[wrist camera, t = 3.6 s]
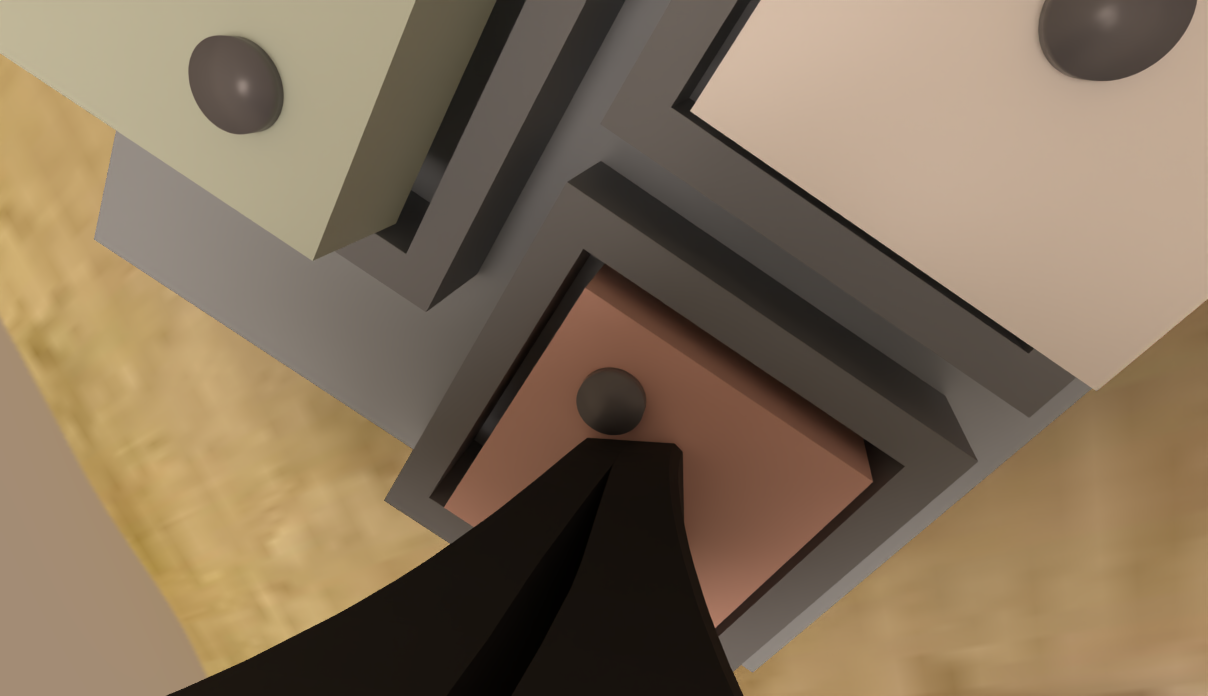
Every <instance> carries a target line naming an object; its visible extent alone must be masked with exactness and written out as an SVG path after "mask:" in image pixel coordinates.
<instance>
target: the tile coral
mask: <svg viewBox="0 0 1208 696" xmlns="http://www.w3.org/2000/svg"><path fill="white" fill-rule="evenodd" d="M586 438H600V439H615V440H630V441H645V442H660V443H675V444H676V445H677V446H678V447H679V448H680V449H681V450H682V451H683V488H684V525H685V529H686V534H687V539H688V543H689V548H690V551H691V555H692V559H693V563H694V566H695V570H696V573H697V576H698V579H699V583H700V586H701V589H702V592H703V595H704V598H705V601H706V604H707V607H708V610H709V613H710V616H711V618H712V621H713V624H714V627H715V628H716V627H717V626H718V625H719V624H720V623H721V622H722V621H723V620H724V619H725V618H727V617H728V616H729V615H730V614H731V613H732V612H733V611H734V610H735V609H736V608H737V607H738V606H739V605H741V604H742V603H743V602H744V601H745V600H746V599H747V598H748V597H749V596H750V595H751V594H752V593H754V592H755V591H756V590H757V589H758V588H759V587H760V586H761V585H762V584H763V583H764V582H765V581H766V580H768V579H769V578H770V577H771V576H772V575H773V574H774V573H775V572H776V571H777V570H778V569H779V568H781V567H782V566H783V565H784V564H785V563H786V562H787V561H788V560H789V559H790V558H791V557H792V556H793V555H795V554H796V553H797V552H798V551H799V550H800V549H801V548H802V547H803V546H804V545H805V544H806V543H808V542H809V541H810V540H811V539H812V538H813V537H814V536H815V535H816V534H817V533H818V532H819V531H820V530H822V529H823V528H824V527H825V526H826V525H827V524H828V523H829V522H830V521H831V520H832V519H833V518H835V517H836V516H837V515H838V514H839V513H840V512H841V511H842V510H843V509H844V508H845V507H846V506H848V505H849V504H850V503H851V502H852V501H853V500H854V499H855V498H856V497H857V496H858V495H859V494H860V493H862V492H863V491H864V490H865V489H866V488H867V487H868V486H869V485H870V484H871V483H872V482H873V479H872V475H871V470H870V466H869V462H868V457H867V453H866V449H865V444H864V440H863V438H862V437H861V436H859V435H858V434H856V433H855V432H853V431H852V430H851V429H849V428H848V427H846V426H845V425H843V424H842V423H840V422H839V421H837V420H836V419H834V418H833V417H831V416H830V415H828V414H827V413H825V412H824V411H822V410H821V409H820V408H818V407H817V406H815V405H814V404H812V403H811V402H809V401H808V400H806V399H805V398H803V397H802V396H800V395H799V394H797V393H796V392H794V391H793V390H791V389H790V388H788V387H787V386H786V385H784V384H783V383H781V382H780V381H778V380H777V379H775V378H774V377H772V376H771V375H769V374H768V373H766V372H765V371H763V370H762V369H760V368H759V367H757V366H756V365H754V364H753V363H752V362H750V361H749V360H747V359H746V358H744V357H743V356H741V355H740V354H738V353H737V352H735V351H734V350H732V349H731V348H729V347H728V346H726V345H725V344H723V343H722V342H720V341H719V340H718V339H716V338H715V337H713V336H712V335H710V334H709V333H707V332H706V331H704V330H703V329H701V328H700V327H698V326H697V325H695V324H694V323H692V322H691V321H689V320H688V319H686V318H685V317H684V316H682V315H681V314H679V313H678V312H676V311H675V310H673V309H672V308H670V307H669V306H667V305H666V304H664V303H663V302H661V301H660V300H658V299H657V298H655V297H654V296H652V295H651V294H650V293H648V292H647V291H645V290H644V289H642V288H641V287H639V286H638V285H636V284H635V283H633V282H632V281H630V280H629V279H627V278H626V277H624V276H623V275H621V274H620V273H618V272H617V271H616V270H614V269H613V268H611V267H610V266H608V265H607V264H604V265H603V266H602V268H601V269H600V270H599V271H598V273H597V274H596V275H595V276H594V278H593V279H592V280H591V281H590V282H589V284H588V285H587V286H586V287H585V289H584V290H583V292H582V294H581V295H580V297H579V298H578V300H577V301H576V303H575V304H574V306H573V308H572V309H571V311H570V312H569V314H568V315H567V317H566V318H565V320H564V322H563V323H562V325H561V326H560V328H559V329H558V331H557V332H556V334H555V336H554V337H553V339H552V340H551V342H550V343H549V345H548V346H547V348H546V350H545V351H544V353H543V354H542V356H541V357H540V359H539V360H538V362H537V364H536V365H535V367H534V368H533V370H532V371H531V373H530V374H529V376H528V378H527V379H526V381H525V382H524V384H523V385H522V387H521V388H520V390H519V392H518V393H517V395H516V396H515V398H514V399H513V401H512V402H511V404H510V405H509V407H508V409H507V410H506V412H505V413H504V415H503V416H502V418H501V419H500V421H499V423H498V424H497V426H496V427H495V429H494V430H493V432H492V433H491V435H490V437H489V438H488V440H487V441H486V443H485V444H484V446H483V447H482V449H481V451H480V452H479V454H478V455H477V457H476V458H475V460H474V461H473V463H472V465H471V466H470V468H469V469H468V471H467V472H466V474H465V475H464V477H463V479H462V480H461V482H460V483H459V485H458V486H457V488H456V489H455V491H454V493H453V494H452V496H451V497H450V499H449V500H448V502H447V503H446V505H445V507H444V508H445V509H447V510H448V511H450V512H451V513H453V514H454V515H456V516H458V517H459V518H461V519H462V520H464V521H465V522H467V523H468V524H470V525H471V526H473V527H475V526H476V525H478V524H479V523H480V522H482V521H483V520H485V519H486V518H487V517H489V516H490V515H492V514H493V513H494V512H496V511H497V510H498V509H500V508H501V507H502V506H503V505H505V504H506V503H507V502H508V501H510V500H511V499H512V498H513V497H515V496H516V495H517V494H518V493H520V492H521V491H522V490H523V489H525V488H526V487H527V486H528V485H530V484H531V483H532V482H533V481H535V480H536V479H537V478H538V477H540V476H541V475H542V474H543V473H544V472H546V471H547V470H548V469H549V468H550V467H552V466H553V465H554V464H555V463H556V462H558V461H559V460H560V459H561V458H562V457H564V456H565V455H566V454H567V453H568V452H570V451H571V450H572V449H573V448H575V447H576V446H577V445H578V444H580V443H581V442H582V441H584V440H585V439H586Z"/></svg>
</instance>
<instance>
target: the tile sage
mask: <svg viewBox="0 0 1208 696" xmlns="http://www.w3.org/2000/svg"><path fill="white" fill-rule="evenodd" d="M495 3H496V0H0V54H2V55H3V56H5V57H6V58H8V59H9V60H11V61H13V62H14V63H16V64H17V65H19V66H20V67H22V68H23V69H25V70H26V71H28V72H29V73H31V74H32V75H34V76H35V77H37V78H38V79H40V80H41V81H43V82H44V83H46V84H47V85H49V86H50V87H52V88H53V89H55V90H56V91H58V92H59V93H61V94H62V95H64V96H65V97H67V98H68V99H70V100H71V101H73V102H74V103H76V104H77V105H79V106H80V107H82V108H83V109H85V110H86V111H88V112H89V113H91V114H92V115H94V116H95V117H97V118H98V119H100V120H101V121H103V122H104V123H106V124H107V125H109V126H110V127H112V128H113V129H115V130H116V131H118V132H119V133H121V134H122V135H124V136H125V137H127V138H128V139H130V140H131V141H133V142H134V143H136V144H137V145H139V146H140V147H142V148H143V149H145V150H146V151H148V152H149V153H151V154H152V155H154V156H155V157H157V158H158V159H160V160H161V161H163V162H164V163H166V164H167V165H169V166H170V167H172V168H173V169H175V170H176V171H178V172H179V173H181V174H182V175H184V176H185V177H187V178H188V179H190V180H191V181H193V182H195V183H196V184H198V185H199V186H201V187H202V188H204V189H205V190H207V191H208V192H210V193H211V194H213V195H214V196H216V197H217V198H219V199H220V200H222V201H223V202H225V203H226V204H228V205H229V206H231V207H232V208H234V209H235V210H237V211H238V212H240V213H241V214H243V215H244V216H246V217H247V218H249V219H250V220H252V221H253V222H255V223H256V224H258V225H259V226H261V227H262V228H264V229H265V230H267V231H268V232H270V233H271V234H273V235H274V236H276V237H277V238H279V239H280V240H282V241H283V242H285V243H286V244H288V245H289V246H291V247H292V248H294V249H295V250H297V251H298V252H300V253H301V254H303V255H304V256H306V257H307V258H309V259H310V260H312V261H314V260H316V259H318V258H321V257H323V256H325V255H327V254H330V253H332V252H334V251H336V250H338V249H341V248H343V247H345V246H347V245H350V244H352V243H354V242H356V241H358V240H361V239H363V238H365V237H367V236H369V235H372V234H374V233H376V232H378V231H381V230H383V229H385V228H387V227H389V226H392V225H394V224H396V222H397V220H398V218H399V215H400V213H401V211H402V209H403V206H404V204H405V202H406V200H407V198H408V195H409V193H410V191H411V189H412V187H413V184H414V182H415V180H416V178H417V175H418V173H419V171H420V169H421V167H422V164H423V162H424V160H425V158H426V156H427V153H428V151H429V149H430V147H431V144H432V142H433V140H434V138H435V136H436V133H437V131H438V129H439V127H440V125H441V122H442V120H443V118H444V116H445V113H446V111H447V109H448V107H449V105H450V102H451V100H452V98H453V96H454V94H455V91H456V89H457V87H458V85H459V82H460V80H461V78H462V76H463V74H464V71H465V69H466V67H467V65H468V63H469V60H470V58H471V56H472V54H473V51H474V49H475V47H476V45H477V43H478V40H479V38H480V36H481V34H482V32H483V29H484V27H485V25H486V23H487V20H488V18H489V16H490V14H491V12H492V9H493V7H494V5H495Z"/></svg>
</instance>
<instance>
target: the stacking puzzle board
mask: <svg viewBox="0 0 1208 696" xmlns="http://www.w3.org/2000/svg"><path fill="white" fill-rule="evenodd" d="M760 1H761V0H496V3H495V5H494V7H493V9H492V12H491V14H490V16H489V18H488V20H487V23H486V25H485V27H484V29H483V32H482V34H481V36H480V38H479V40H478V43H477V45H476V47H475V49H474V51H473V54H472V56H471V58H470V60H469V63H468V65H467V67H466V69H465V71H464V74H463V76H462V78H461V80H460V82H459V85H458V87H457V89H456V91H455V94H454V96H453V98H452V100H451V102H450V105H449V107H448V109H447V111H446V113H445V116H444V118H443V120H442V122H441V125H440V127H439V129H438V131H437V133H436V136H435V138H434V140H433V142H432V144H431V147H430V149H429V151H428V153H427V156H426V158H425V160H424V162H423V164H422V167H421V169H420V171H419V173H418V175H417V178H416V180H415V182H414V184H413V187H412V189H411V191H410V193H409V195H408V198H407V200H406V202H405V204H404V206H403V209H402V211H401V213H400V215H399V218H398V220H397V222H396V224H394V225H392V226H389V227H387V228H385V229H383V230H381V231H378V232H376V233H374V234H372V235H369V236H367V237H365V238H363V239H361V240H358V241H356V242H354V243H352V244H350V245H347V246H345V247H343V248H341V249H338V250H336V251H334V252H332V253H330V254H327V255H325V256H323V257H321V258H318V259H316V260H314V261H312V260H310V259H309V258H307V257H306V256H304V255H303V254H301V253H300V252H298V251H297V250H295V249H294V248H292V247H291V246H289V245H288V244H286V243H285V242H283V241H282V240H280V239H279V238H277V237H276V236H274V235H273V234H271V233H270V232H268V231H267V230H265V229H264V228H262V227H261V226H259V225H258V224H256V223H255V222H253V221H252V220H250V219H249V218H247V217H246V216H244V215H243V214H241V213H240V212H238V211H237V210H235V209H234V208H232V207H231V206H229V205H228V204H226V203H225V202H223V201H222V200H220V199H219V198H217V197H216V196H214V195H213V194H211V193H210V192H208V191H207V190H205V189H204V188H202V187H201V186H199V185H198V184H196V183H195V182H193V181H191V180H190V179H188V178H187V177H185V176H184V175H182V174H181V173H179V172H178V171H176V170H175V169H173V168H172V167H170V166H169V165H167V164H166V163H164V162H163V161H161V160H160V159H158V158H157V157H155V156H154V155H152V154H151V153H149V152H148V151H146V150H145V149H143V148H142V147H140V146H139V145H137V144H136V143H134V142H133V141H131V140H130V139H128V138H127V137H125V136H124V135H122V134H121V133H119V132H118V131H116V134H115V139H114V144H113V149H112V153H111V158H110V163H109V168H108V173H107V178H106V183H105V188H104V193H103V198H102V203H101V208H100V212H99V217H98V222H97V227H96V232H95V237H94V240H96V241H97V242H99V243H100V244H102V245H103V246H105V247H106V248H108V249H109V250H111V251H112V252H114V253H115V254H117V255H118V256H120V257H122V258H123V259H125V260H126V261H128V262H129V263H131V264H132V265H134V266H135V267H137V268H138V269H140V270H141V271H143V272H144V273H146V274H147V275H149V276H150V277H152V278H153V279H155V280H156V281H158V282H160V283H161V284H163V285H164V286H166V287H167V288H169V289H170V290H172V291H173V292H175V293H176V294H178V295H179V296H181V297H182V298H184V299H185V300H187V301H188V302H190V303H191V304H193V305H195V306H196V307H198V308H199V309H201V310H202V311H204V312H205V313H207V314H208V315H210V316H211V317H213V318H214V319H216V320H217V321H219V322H220V323H222V324H223V325H225V326H226V327H228V328H229V329H231V330H233V331H234V332H236V333H237V334H239V335H240V336H242V337H243V338H245V339H246V340H248V341H249V342H251V343H252V344H254V345H255V346H257V347H258V348H260V349H261V350H263V351H264V352H266V353H268V354H269V355H271V356H272V357H274V358H275V359H277V360H278V361H280V362H281V363H283V364H284V365H286V366H287V367H289V368H290V369H292V370H293V371H295V372H296V373H298V374H299V375H301V376H302V377H304V378H306V379H307V380H309V381H310V382H312V383H313V384H315V385H316V386H318V387H319V388H321V389H322V390H324V391H325V392H327V393H328V394H330V395H331V396H333V397H334V398H336V399H337V400H339V401H341V402H342V403H344V404H345V405H347V406H348V407H350V408H351V409H353V410H354V411H356V412H357V413H359V414H360V415H362V416H363V417H365V418H366V419H368V420H369V421H371V422H372V423H374V424H376V425H377V426H379V427H380V428H382V429H383V430H385V431H386V432H388V433H389V434H391V435H392V436H394V437H395V438H397V439H398V440H400V441H401V442H403V443H404V444H406V445H407V446H409V447H410V448H412V449H413V451H412V453H411V454H410V456H409V458H408V460H407V461H406V463H405V465H404V467H403V468H402V470H401V472H400V474H399V475H398V477H397V479H396V481H395V482H394V484H393V486H392V488H391V489H390V491H389V493H388V494H387V496H386V498H385V500H384V501H386V502H387V503H389V504H390V505H392V506H393V507H395V508H396V509H398V510H399V511H401V512H402V513H404V514H405V515H407V516H409V517H410V518H412V519H413V520H415V521H416V522H418V523H419V524H421V525H422V526H424V527H425V528H427V529H428V530H430V531H431V532H433V533H435V534H436V535H438V536H439V537H441V538H442V539H444V540H445V541H447V542H448V543H450V544H451V543H453V542H454V541H455V540H457V539H458V538H460V537H461V536H462V535H464V534H465V533H466V532H468V531H469V530H471V529H472V528H473V526H471V525H470V524H468V523H467V522H465V521H464V520H462V519H461V518H459V517H458V516H456V515H454V514H453V513H451V512H450V511H448V510H447V509H445V508H444V507H445V505H446V503H447V502H448V500H449V499H450V497H451V496H452V494H453V493H454V491H455V489H456V488H457V486H458V485H459V483H460V482H461V480H462V479H463V477H464V475H465V474H466V472H467V471H468V469H469V468H470V466H471V465H472V463H473V461H474V460H475V458H476V457H477V455H478V454H479V452H480V451H481V449H482V447H483V446H484V444H485V443H486V441H487V440H488V438H489V437H490V435H491V433H492V432H493V430H494V429H495V427H496V426H497V424H498V423H499V421H500V419H501V418H502V416H503V415H504V413H505V412H506V410H507V409H508V407H509V405H510V404H511V402H512V401H513V399H514V398H515V396H516V395H517V393H518V392H519V390H520V388H521V387H522V385H523V384H524V382H525V381H526V379H527V378H528V376H529V374H530V373H531V371H532V370H533V368H534V367H535V365H536V364H537V362H538V360H539V359H540V357H541V356H542V354H543V353H544V351H545V350H546V348H547V346H548V345H549V343H550V342H551V340H552V339H553V337H554V336H555V334H556V332H557V331H558V329H559V328H560V326H561V325H562V323H563V322H564V320H565V318H566V317H567V315H568V314H569V312H570V311H571V309H572V308H573V306H574V304H575V303H576V301H577V300H578V298H579V297H580V295H581V294H582V292H583V290H584V289H585V287H586V286H587V285H588V284H589V282H590V281H591V280H592V279H593V278H594V276H595V275H596V274H597V273H598V271H599V270H600V269H601V268H602V266H603V265H604V264H607V265H608V266H610V267H611V268H613V269H614V270H616V271H617V272H618V273H620V274H621V275H623V276H624V277H626V278H627V279H629V280H630V281H632V282H633V283H635V284H636V285H638V286H639V287H641V288H642V289H644V290H645V291H647V292H648V293H650V294H651V295H652V296H654V297H655V298H657V299H658V300H660V301H661V302H663V303H664V304H666V305H667V306H669V307H670V308H672V309H673V310H675V311H676V312H678V313H679V314H681V315H682V316H684V317H685V318H686V319H688V320H689V321H691V322H692V323H694V324H695V325H697V326H698V327H700V328H701V329H703V330H704V331H706V332H707V333H709V334H710V335H712V336H713V337H715V338H716V339H718V340H719V341H720V342H722V343H723V344H725V345H726V346H728V347H729V348H731V349H732V350H734V351H735V352H737V353H738V354H740V355H741V356H743V357H744V358H746V359H747V360H749V361H750V362H752V363H753V364H754V365H756V366H757V367H759V368H760V369H762V370H763V371H765V372H766V373H768V374H769V375H771V376H772V377H774V378H775V379H777V380H778V381H780V382H781V383H783V384H784V385H786V386H787V387H788V388H790V389H791V390H793V391H794V392H796V393H797V394H799V395H800V396H802V397H803V398H805V399H806V400H808V401H809V402H811V403H812V404H814V405H815V406H817V407H818V408H820V409H821V410H822V411H824V412H825V413H827V414H828V415H830V416H831V417H833V418H834V419H836V420H837V421H839V422H840V423H842V424H843V425H845V426H846V427H848V428H849V429H851V430H852V431H853V432H855V433H856V434H858V435H859V436H861V437H862V438H863V440H864V444H865V449H866V453H867V457H868V462H869V466H870V470H871V475H872V479H873V482H872V483H871V484H870V485H869V486H868V487H867V488H866V489H865V490H864V491H863V492H862V493H860V494H859V495H858V496H857V497H856V498H855V499H854V500H853V501H852V502H851V503H850V504H849V505H848V506H846V507H845V508H844V509H843V510H842V511H841V512H840V513H839V514H838V515H837V516H836V517H835V518H833V519H832V520H831V521H830V522H829V523H828V524H827V525H826V526H825V527H824V528H823V529H822V530H820V531H819V532H818V533H817V534H816V535H815V536H814V537H813V538H812V539H811V540H810V541H809V542H808V543H806V544H805V545H804V546H803V547H802V548H801V549H800V550H799V551H798V552H797V553H796V554H795V555H793V556H792V557H791V558H790V559H789V560H788V561H787V562H786V563H785V564H784V565H783V566H782V567H781V568H779V569H778V570H777V571H776V572H775V573H774V574H773V575H772V576H771V577H770V578H769V579H768V580H766V581H765V582H764V583H763V584H762V585H761V586H760V587H759V588H758V589H757V590H756V591H755V592H754V593H752V594H751V595H750V596H749V597H748V598H747V599H746V600H745V601H744V602H743V603H742V604H741V605H739V606H738V607H737V608H736V609H735V610H734V611H733V612H732V613H731V614H730V615H729V616H728V617H727V618H725V619H724V620H723V621H722V622H721V623H720V624H719V625H718V626H717V627H716V628H715V629H716V632H717V635H718V637H719V639H720V642H721V644H722V647H723V649H724V652H725V654H726V657H727V659H728V662H729V664H730V667H731V669H732V671H735V670H736V669H737V668H738V667H739V666H740V665H742V666H744V667H745V668H747V669H748V670H750V671H751V672H754V671H755V670H756V669H758V668H759V667H760V666H761V665H762V664H764V663H765V662H766V661H767V660H768V659H770V658H771V657H772V656H773V655H774V654H776V653H777V652H778V651H779V650H780V649H782V648H783V647H784V646H785V645H786V644H787V643H789V642H790V641H791V640H792V639H793V638H795V637H796V636H797V635H798V634H799V633H801V632H802V631H803V630H804V629H805V628H807V627H808V626H809V625H810V624H811V623H813V622H814V621H815V620H816V619H817V618H819V617H820V616H821V615H822V614H823V613H825V612H826V611H827V610H828V609H829V608H830V607H832V606H833V605H834V604H835V603H836V602H838V601H839V600H840V599H841V598H842V597H844V596H845V595H846V594H847V593H848V592H850V591H851V590H852V589H853V588H854V587H856V586H857V585H858V584H859V583H860V582H862V581H863V580H864V579H865V578H866V577H868V576H869V575H870V574H871V573H872V572H873V571H875V570H876V569H877V568H878V567H879V566H881V565H882V564H883V563H884V562H885V561H887V560H888V559H889V558H890V557H891V556H893V555H894V554H895V553H896V552H897V551H899V550H900V549H901V548H902V547H903V546H905V545H906V544H907V543H908V542H909V541H910V540H912V539H913V538H914V537H915V536H916V535H918V534H919V533H920V532H921V531H922V530H924V529H925V528H926V527H927V526H928V525H930V524H931V523H932V522H933V521H934V520H936V519H937V518H938V517H939V516H940V515H942V514H943V513H944V512H945V511H946V510H948V509H949V508H950V507H951V506H952V505H953V504H955V503H956V502H957V501H958V500H959V499H961V498H962V497H963V496H964V495H965V494H967V493H968V492H969V491H970V490H971V489H973V488H974V487H975V486H976V485H977V484H979V483H980V482H981V481H982V480H983V479H985V478H986V477H987V476H988V475H989V474H991V473H992V472H993V471H994V470H995V469H996V468H998V467H999V466H1000V465H1001V464H1002V463H1004V462H1005V461H1006V460H1007V459H1008V458H1010V457H1011V456H1012V455H1013V454H1014V453H1016V452H1017V451H1018V450H1019V449H1020V448H1022V447H1023V446H1024V445H1025V444H1026V443H1028V442H1029V441H1030V440H1031V439H1032V438H1033V437H1035V436H1036V435H1037V434H1038V433H1039V432H1041V431H1042V430H1043V429H1044V428H1045V427H1047V426H1048V425H1049V424H1050V423H1051V422H1053V421H1054V420H1055V419H1056V418H1057V417H1059V416H1060V415H1061V414H1062V413H1063V412H1065V411H1066V410H1067V409H1068V408H1069V407H1071V406H1072V405H1073V404H1074V403H1075V402H1076V401H1078V400H1079V399H1080V398H1081V397H1082V396H1084V395H1085V394H1086V393H1087V392H1088V391H1090V390H1091V389H1092V388H1091V387H1089V386H1088V385H1087V384H1085V383H1084V382H1082V381H1081V380H1079V379H1078V378H1076V377H1075V376H1074V375H1072V374H1071V373H1069V372H1068V371H1066V370H1065V369H1063V368H1062V367H1060V366H1059V365H1058V364H1056V363H1055V362H1053V361H1052V360H1050V359H1049V358H1047V357H1046V356H1045V355H1043V354H1042V353H1040V352H1039V351H1037V350H1036V349H1034V348H1033V347H1031V346H1030V345H1029V344H1027V343H1026V342H1024V341H1023V340H1021V339H1020V338H1018V337H1017V336H1016V335H1014V334H1013V333H1011V332H1010V331H1008V330H1007V329H1005V328H1004V327H1002V326H1001V325H1000V324H998V323H997V322H995V321H994V320H992V319H991V318H989V317H988V316H987V315H985V314H984V313H982V312H981V311H979V310H978V309H976V308H975V307H973V306H972V305H971V304H969V303H968V302H966V301H965V300H963V299H962V298H960V297H959V296H958V295H956V294H955V293H953V292H952V291H950V290H949V289H947V288H946V287H944V286H943V285H942V284H940V283H939V282H937V281H936V280H934V279H933V278H931V277H930V276H929V275H927V274H926V273H924V272H923V271H921V270H920V269H918V268H917V267H915V266H914V265H913V264H911V263H910V262H908V261H907V260H905V259H904V258H902V257H901V256H900V255H898V254H897V253H895V252H894V251H892V250H891V249H889V248H888V247H886V246H885V245H884V244H882V243H881V242H879V241H878V240H876V239H875V238H873V237H872V236H870V235H869V234H868V233H866V232H865V231H863V230H862V229H860V228H859V227H857V226H856V225H855V224H853V223H852V222H850V221H849V220H847V219H846V218H844V217H843V216H841V215H840V214H839V213H837V212H836V211H834V210H833V209H831V208H830V207H828V206H827V205H826V204H824V203H823V202H821V201H820V200H818V199H817V198H815V197H814V196H812V195H811V194H810V193H808V192H807V191H805V190H804V189H802V188H801V187H799V186H798V185H797V184H795V183H794V182H792V181H791V180H789V179H788V178H786V177H785V176H783V175H782V174H781V173H779V172H778V171H776V170H775V169H773V168H772V167H770V166H769V165H768V164H766V163H765V162H763V161H762V160H760V159H759V158H757V157H756V156H754V155H753V154H752V153H750V152H749V151H747V150H746V149H744V148H743V147H741V146H740V145H739V144H737V143H736V142H734V141H733V140H731V139H730V138H728V137H727V136H725V135H724V134H723V133H721V132H720V131H718V130H717V129H715V128H714V127H712V126H711V125H710V124H708V123H707V122H705V121H704V120H702V119H701V118H699V117H698V116H696V115H695V114H694V113H692V112H691V111H690V110H691V109H692V107H693V106H694V104H695V103H696V101H697V99H698V98H699V96H700V95H701V93H702V92H703V90H704V88H705V87H706V85H707V84H708V82H709V81H710V79H711V77H712V76H713V74H714V73H715V71H716V70H717V68H718V66H719V65H720V63H721V62H722V60H723V59H724V57H725V55H726V54H727V52H728V51H729V49H730V48H731V46H732V44H733V43H734V41H735V40H736V38H737V37H738V35H739V33H740V32H741V30H742V29H743V27H744V26H745V24H746V22H747V21H748V19H749V18H750V16H751V15H752V13H753V11H754V10H755V8H756V7H757V5H758V4H759V2H760Z"/></svg>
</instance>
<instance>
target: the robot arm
mask: <svg viewBox="0 0 1208 696" xmlns="http://www.w3.org/2000/svg"><path fill="white" fill-rule="evenodd" d="M167 696H743V694H742V691H741V689H740V687H739V685H738V682H737V680H736V678H735V676H734V673H733V671H732V669H731V667H730V664H729V662H728V659H727V657H726V654H725V652H724V649H723V647H722V644H721V642H720V639H719V637H718V635H717V632H716V629H715V627H714V624H713V621H712V618H711V616H710V613H709V610H708V607H707V604H706V601H705V598H704V595H703V592H702V589H701V586H700V583H699V579H698V576H697V573H696V570H695V566H694V563H693V559H692V555H691V551H690V548H689V543H688V539H687V534H686V529H685V525H684V488H683V451H682V450H681V449H680V448H679V447H678V446H677V445H676V444H675V443H660V442H645V441H630V440H615V439H600V438H586V439H585V440H584V441H582V442H581V443H580V444H578V445H577V446H576V447H575V448H573V449H572V450H571V451H570V452H568V453H567V454H566V455H565V456H564V457H562V458H561V459H560V460H559V461H558V462H556V463H555V464H554V465H553V466H552V467H550V468H549V469H548V470H547V471H546V472H544V473H543V474H542V475H541V476H540V477H538V478H537V479H536V480H535V481H533V482H532V483H531V484H530V485H528V486H527V487H526V488H525V489H523V490H522V491H521V492H520V493H518V494H517V495H516V496H515V497H513V498H512V499H511V500H510V501H508V502H507V503H506V504H505V505H503V506H502V507H501V508H500V509H498V510H497V511H496V512H494V513H493V514H492V515H490V516H489V517H487V518H486V519H485V520H483V521H482V522H480V523H479V524H478V525H476V526H475V527H473V528H472V529H471V530H469V531H468V532H466V533H465V534H464V535H462V536H461V537H460V538H458V539H457V540H455V541H454V542H453V543H451V544H450V545H448V546H447V547H446V548H444V549H443V550H441V551H440V552H439V553H437V554H436V555H434V556H433V557H431V558H430V559H428V560H427V561H425V562H424V563H422V564H421V565H419V566H418V567H416V568H415V569H413V570H411V571H410V572H408V573H407V574H405V575H403V576H402V577H400V578H399V579H397V580H396V581H394V582H392V583H390V584H389V585H387V586H385V587H384V588H382V589H380V590H379V591H377V592H375V593H373V594H372V595H370V596H368V597H367V598H365V599H363V600H362V601H360V602H358V603H356V604H355V605H353V606H351V607H349V608H348V609H346V610H344V611H342V612H340V613H339V614H337V615H335V616H333V617H331V618H329V619H327V620H325V621H323V622H321V623H319V624H317V625H315V626H313V627H311V628H309V629H307V630H305V631H303V632H301V633H299V634H297V635H295V636H293V637H291V638H289V639H288V640H286V641H284V642H282V643H280V644H278V645H276V646H274V647H272V648H270V649H268V650H266V651H264V652H262V653H260V654H258V655H256V656H254V657H252V658H250V659H248V660H246V661H244V662H241V663H239V664H237V665H235V666H233V667H231V668H228V669H226V670H224V671H222V672H219V673H217V674H215V675H213V676H210V677H208V678H206V679H204V680H201V681H199V682H197V683H195V684H193V685H190V686H188V687H186V688H184V689H181V690H179V691H176V692H174V693H172V694H169V695H167Z"/></svg>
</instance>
